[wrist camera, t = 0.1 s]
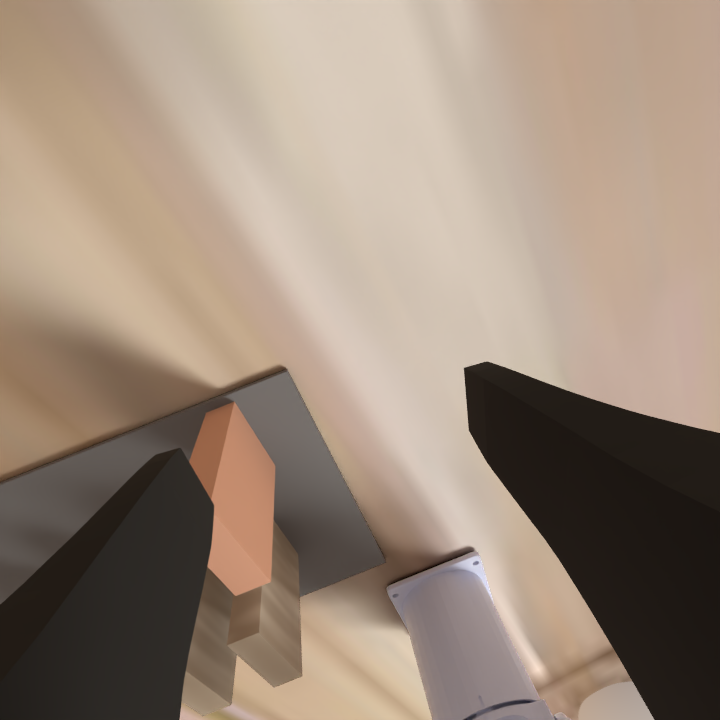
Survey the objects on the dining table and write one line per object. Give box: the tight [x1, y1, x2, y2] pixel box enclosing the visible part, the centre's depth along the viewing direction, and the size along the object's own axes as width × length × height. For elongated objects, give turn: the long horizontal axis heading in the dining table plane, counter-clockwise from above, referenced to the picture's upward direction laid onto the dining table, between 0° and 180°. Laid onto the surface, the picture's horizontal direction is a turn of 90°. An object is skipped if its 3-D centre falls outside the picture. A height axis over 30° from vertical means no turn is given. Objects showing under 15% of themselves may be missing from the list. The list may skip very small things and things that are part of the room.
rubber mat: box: [0, 369, 386, 604], centre depth 23 cm, size 18×28×1 cm, turn 108°
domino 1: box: [189, 402, 275, 596], centre depth 17 cm, size 2×5×7 cm, turn 18°
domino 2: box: [227, 520, 302, 687], centre depth 21 cm, size 2×5×7 cm, turn 17°
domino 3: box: [181, 567, 237, 716], centre depth 21 cm, size 2×5×7 cm, turn 18°
